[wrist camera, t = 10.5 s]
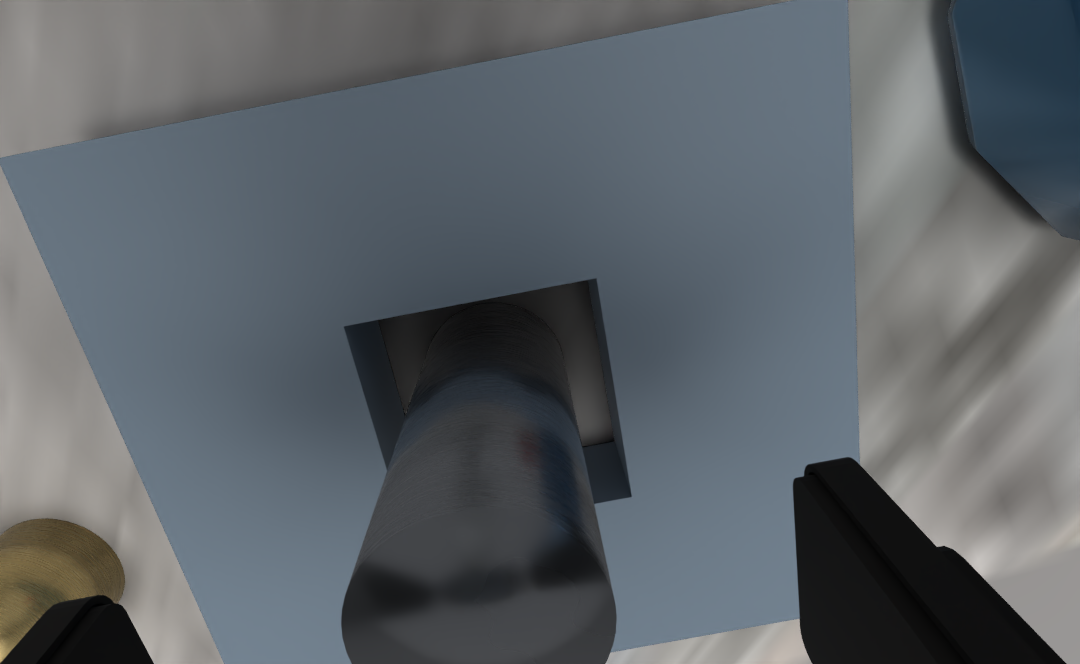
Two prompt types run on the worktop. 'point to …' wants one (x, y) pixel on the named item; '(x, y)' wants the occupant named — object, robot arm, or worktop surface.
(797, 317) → the sleeve block
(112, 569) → the short brass pin
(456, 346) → the tall steel pin
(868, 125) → the worktop surface
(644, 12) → the worktop surface
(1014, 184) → the wine bottle
